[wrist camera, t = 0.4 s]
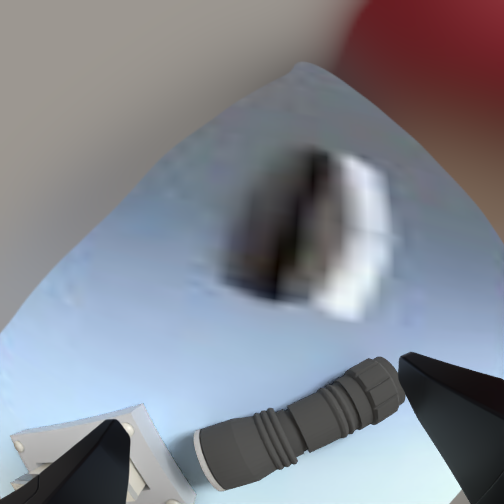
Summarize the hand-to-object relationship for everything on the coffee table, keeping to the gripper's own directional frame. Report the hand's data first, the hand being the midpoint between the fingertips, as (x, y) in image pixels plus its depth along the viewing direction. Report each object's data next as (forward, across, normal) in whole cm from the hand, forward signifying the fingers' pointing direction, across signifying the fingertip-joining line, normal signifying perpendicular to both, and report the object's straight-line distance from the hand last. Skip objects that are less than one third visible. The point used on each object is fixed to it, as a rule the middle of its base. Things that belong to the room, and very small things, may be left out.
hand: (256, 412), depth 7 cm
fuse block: (+8, +18, +13) cm, 23 cm away
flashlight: (+11, -1, +12) cm, 16 cm away
